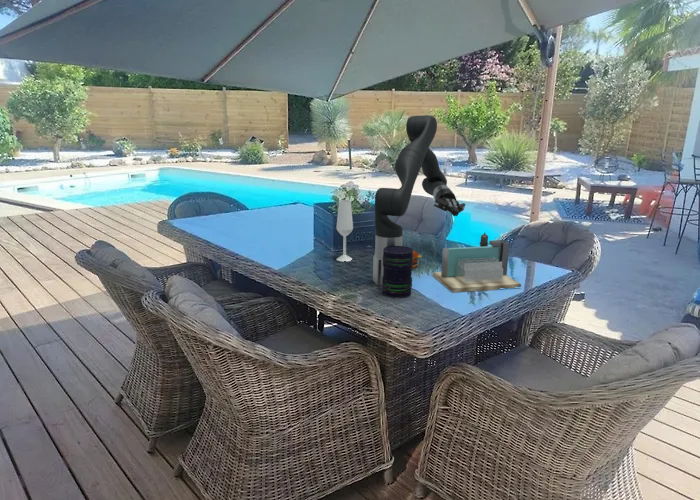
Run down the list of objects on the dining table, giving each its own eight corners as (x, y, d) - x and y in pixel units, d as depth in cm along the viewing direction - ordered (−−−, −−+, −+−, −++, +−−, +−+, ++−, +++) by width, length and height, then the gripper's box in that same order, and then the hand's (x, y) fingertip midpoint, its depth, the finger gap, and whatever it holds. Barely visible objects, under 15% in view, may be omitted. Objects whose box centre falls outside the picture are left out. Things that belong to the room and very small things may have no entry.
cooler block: (464, 284, 173) (466, 250, 170) (451, 274, 184) (453, 242, 181) (516, 281, 177) (519, 247, 174) (500, 271, 188) (503, 240, 185)
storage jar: (409, 288, 174) (411, 245, 170) (413, 298, 164) (415, 253, 161) (380, 288, 174) (381, 245, 170) (383, 298, 164) (384, 253, 160)
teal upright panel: (442, 277, 180) (444, 249, 178) (440, 275, 182) (441, 248, 180) (497, 273, 184) (499, 247, 182) (494, 272, 186) (496, 245, 184)
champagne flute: (350, 262, 204) (351, 202, 198) (334, 260, 205) (334, 201, 199) (354, 257, 210) (354, 200, 204) (338, 256, 212) (338, 199, 205)
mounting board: (452, 292, 170) (452, 288, 169) (432, 276, 187) (433, 272, 186) (520, 288, 175) (521, 283, 175) (495, 272, 192) (496, 268, 192)
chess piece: (479, 258, 212) (481, 229, 208) (492, 260, 208) (494, 232, 205) (472, 261, 207) (474, 232, 204) (486, 263, 204) (488, 234, 200)
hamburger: (410, 270, 194) (410, 254, 192) (389, 266, 200) (389, 249, 198) (423, 265, 201) (423, 249, 199) (403, 261, 207) (403, 245, 205)
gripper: (430, 185, 204) (441, 202, 188) (462, 190, 206) (475, 206, 190) (426, 203, 207) (436, 220, 192) (457, 207, 209) (469, 224, 194)
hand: (455, 213), depth 191 cm, fingers closed
